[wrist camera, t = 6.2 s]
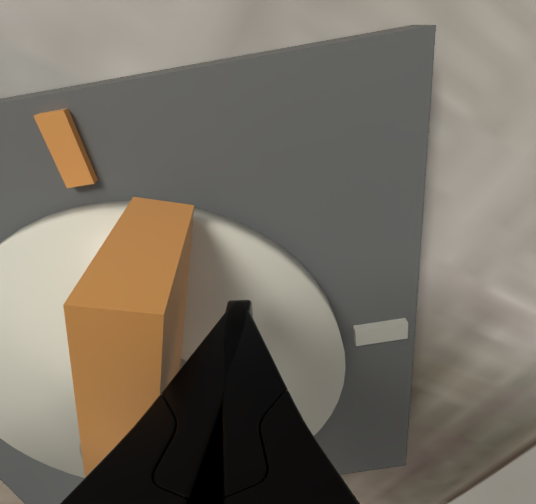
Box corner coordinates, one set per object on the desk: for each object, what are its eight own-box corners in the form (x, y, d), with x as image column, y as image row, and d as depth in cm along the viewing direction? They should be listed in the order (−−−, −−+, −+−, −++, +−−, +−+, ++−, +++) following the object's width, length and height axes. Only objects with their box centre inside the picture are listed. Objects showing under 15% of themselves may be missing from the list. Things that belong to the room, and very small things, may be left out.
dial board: (395, 438, 21) (407, 471, 19) (49, 487, 22) (35, 522, 20) (412, 24, 11) (441, 25, 9) (-253, 144, 11) (-332, 162, 10)
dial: (297, 472, 19) (314, 618, 14) (0, 459, 17) (-91, 622, 12) (395, 220, 12) (495, 347, 7) (-99, 148, 10) (-407, 258, 5)
